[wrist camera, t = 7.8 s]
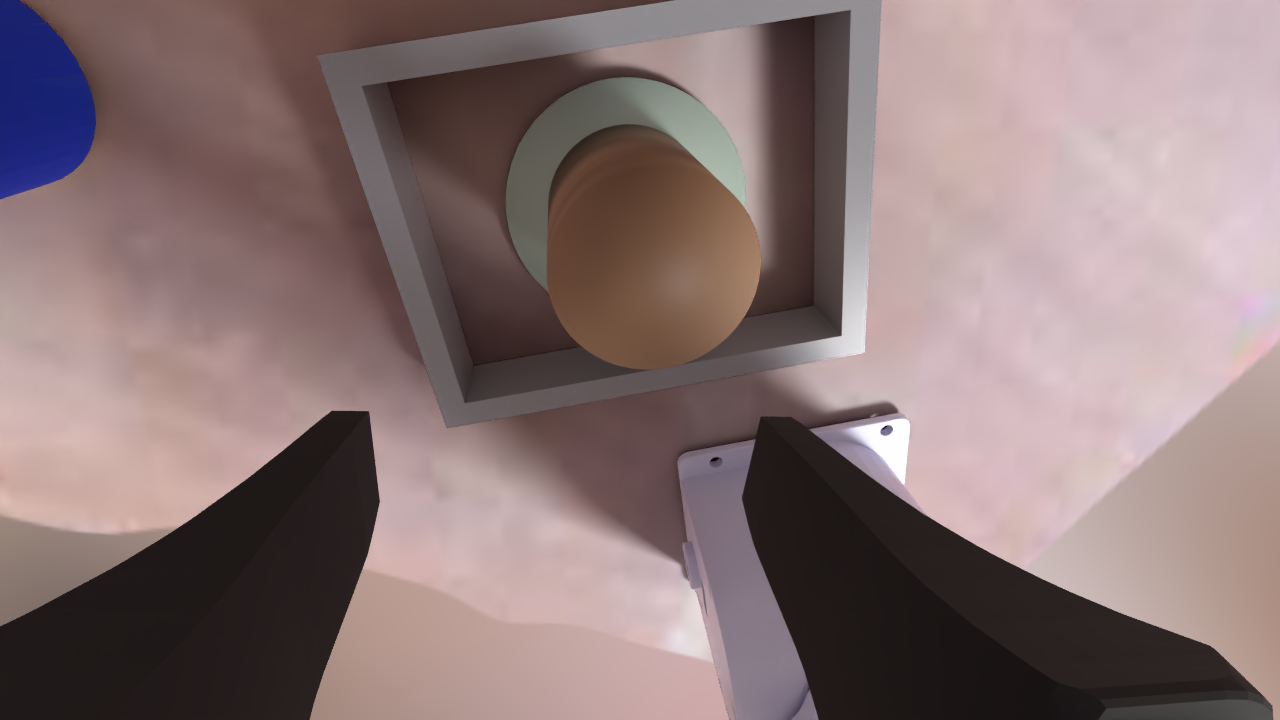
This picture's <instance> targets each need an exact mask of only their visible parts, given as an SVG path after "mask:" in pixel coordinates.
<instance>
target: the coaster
mask: <svg viewBox="0 0 1280 720" xmlns="http://www.w3.org/2000/svg"><path fill="white" fill-rule="evenodd" d="M623 124H636V125H643V126H648V127H651V128H654V129H657V130H660V131H662V132H664V133H666V134H668V135H669V136H671V137H672V138H674V139H675V140H677V141H678V142H679V143H680V144H681V145H682V146H683V147H684V148H686V149H687V150H688V151H689V152H690V153H691V154H692V155H693V156H694V157H695V158H696V159H697V160H698V161H699V162H700V163H701V164H702V165H703V166H704V167H705V168H706V169H708V170H709V171H710V172H711V173H712V174H713V175H714V176H715V177H716V178H717V179H718V180H719V181H720V182H721V183H722V184H723V185H724V186H725V187H726V188H727V189H729V190H730V191H731V192H732V193H733V194H734V195H735V197H736V198H737V199H738V200H739V201H740V202H741V204H742V205H743V206H744V208H745V203H746V188H745V180H744V173H743V169H742V165H741V161H740V158H739V155H738V153H737V150H736V148H735V145H734V143H733V141H732V140H731V138H730V136H729V134H728V133H727V131H726V129H725V128H724V127H723V126H722V124H721V123H720V122H719V120H718V119H717V118H716V117H715V116H714V115H713V114H712V113H711V112H710V111H709V110H708V109H707V108H706V107H705V106H704V105H703V104H701V103H700V102H699V101H697V100H696V99H695V98H693V97H692V96H690V95H688V94H686V93H685V92H683V91H681V90H679V89H677V88H675V87H673V86H670V85H667V84H665V83H662V82H659V81H655V80H650V79H645V78H636V77H618V78H607V79H603V80H599V81H595V82H591V83H588V84H586V85H583V86H581V87H578V88H576V89H574V90H572V91H570V92H568V93H567V94H565V95H563V96H561V97H560V98H559V99H557V100H556V101H555V102H553V103H552V104H551V105H549V106H548V107H547V108H546V109H545V110H544V111H543V112H542V113H541V114H540V115H539V116H538V117H537V118H536V119H535V121H534V122H533V123H532V125H531V126H530V127H529V129H528V130H527V131H526V133H525V134H524V136H523V138H522V140H521V142H520V144H519V145H518V147H517V150H516V152H515V155H514V158H513V160H512V163H511V167H510V171H509V175H508V179H507V187H506V198H505V199H506V216H507V222H508V228H509V232H510V235H511V238H512V241H513V244H514V247H515V249H516V251H517V253H518V255H519V257H520V259H521V261H522V262H523V264H524V266H525V267H526V269H527V270H528V272H529V273H530V274H531V275H532V276H533V278H534V279H535V280H536V281H537V282H538V283H539V284H540V285H541V286H542V287H543V288H544V289H545V290H546V291H547V292H548V293H549V291H548V286H547V232H548V200H549V191H550V187H551V183H552V180H553V177H554V174H555V172H556V170H557V168H558V166H559V164H560V162H561V161H562V160H563V158H564V157H565V155H566V154H567V153H568V152H569V151H570V150H571V149H572V148H573V147H574V146H575V145H576V144H577V143H578V142H579V141H581V140H582V139H583V138H585V137H587V136H588V135H590V134H592V133H593V132H596V131H598V130H601V129H603V128H607V127H610V126H614V125H623Z"/></svg>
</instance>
